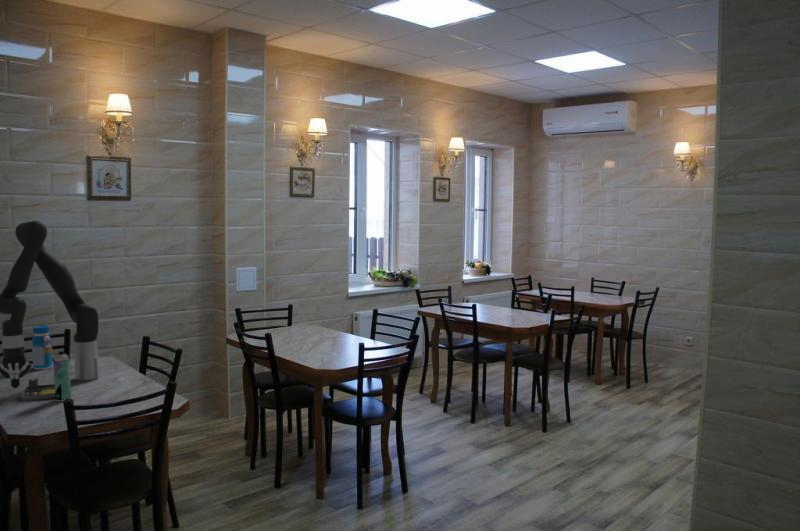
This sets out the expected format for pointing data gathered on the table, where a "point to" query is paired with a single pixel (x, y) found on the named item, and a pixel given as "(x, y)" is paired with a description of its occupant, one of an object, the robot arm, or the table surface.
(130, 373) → the table surface
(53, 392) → the panel
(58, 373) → the spray can
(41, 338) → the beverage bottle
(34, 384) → the toggle
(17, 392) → the table surface
